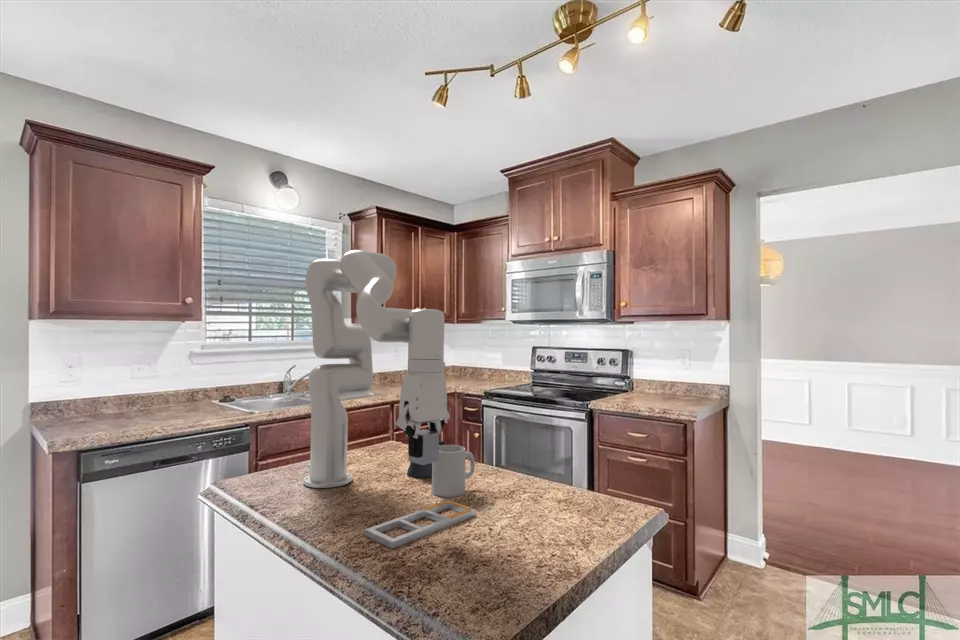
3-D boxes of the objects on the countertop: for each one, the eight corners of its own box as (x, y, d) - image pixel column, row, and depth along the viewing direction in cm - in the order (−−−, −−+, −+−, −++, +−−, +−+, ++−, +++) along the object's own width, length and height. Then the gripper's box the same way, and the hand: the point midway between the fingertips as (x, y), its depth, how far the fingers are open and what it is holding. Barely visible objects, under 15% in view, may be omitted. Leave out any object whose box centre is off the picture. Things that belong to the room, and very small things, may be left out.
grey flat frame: (364, 535, 93) (364, 528, 93) (447, 505, 110) (447, 499, 111) (392, 548, 88) (392, 541, 88) (475, 515, 105) (475, 508, 105)
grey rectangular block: (408, 461, 100) (409, 432, 100) (424, 457, 103) (424, 429, 103) (422, 465, 97) (423, 435, 97) (438, 461, 100) (438, 432, 100)
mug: (442, 499, 115) (443, 453, 115) (425, 490, 122) (426, 447, 122) (482, 491, 122) (483, 447, 122) (464, 482, 129) (465, 441, 129)
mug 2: (419, 480, 130) (419, 439, 130) (400, 473, 137) (401, 434, 137) (452, 472, 138) (453, 433, 139) (433, 466, 145) (434, 429, 145)
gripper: (441, 365, 109) (440, 445, 109) (382, 367, 97) (379, 458, 96) (465, 367, 104) (463, 450, 104) (406, 370, 92) (403, 465, 91)
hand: (423, 453), depth 100 cm, fingers closed on grey rectangular block, 4 cm apart
